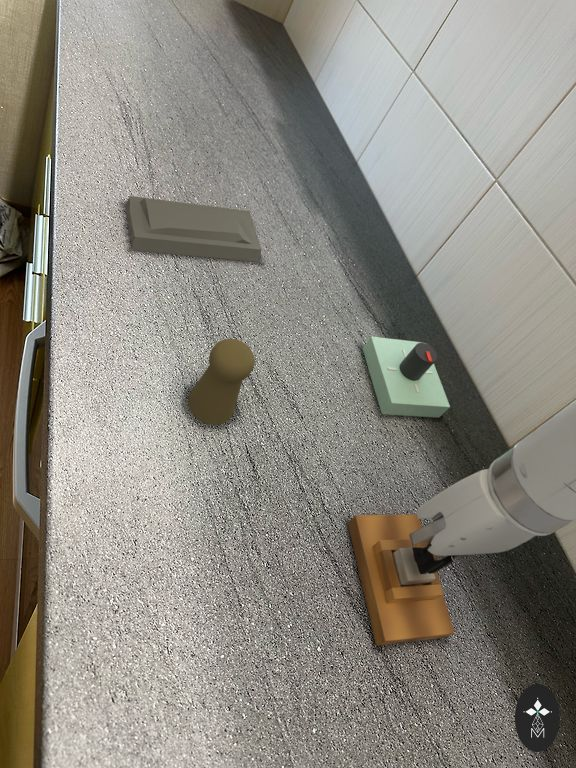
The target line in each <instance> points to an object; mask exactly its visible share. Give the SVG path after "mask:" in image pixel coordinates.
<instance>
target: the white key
mask: <svg viewBox="0 0 576 768" xmlns="http://www.w3.org/2000/svg"><path fill="white" fill-rule="evenodd" d="M392 554H393V558H394V562H395V566H396V569H397V573H398V577H399V581H400V585H413V584H426V583H429V582H431V581H433V580H434V579H436V578H435V574H434V573H433V574H429V573H426V574H420V573H419V570H418V567H417V563H416V562H415V559H414V556H413V549H412V548H399V549H398V550H396V551H395V552H394V553H392Z"/></svg>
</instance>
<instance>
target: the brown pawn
mask: <svg viewBox="0 0 576 768" xmlns="http://www.w3.org/2000/svg"><path fill="white" fill-rule="evenodd" d="M255 361H256V360H255V356H254V353H253V351H252V348H251V347H250V346H249V345H248V344H246V343H245V342H244V341H242V340H240V339H236V338H225V339H224V338H223V339H222V340H220V341H218V342H217V343H216V344H215V345H213V347H212V348H211V350H210V353H209V356H208V367H207V368H206V369H205V371H204V372H203V374H202V375H201V376H200V378H199V379H198V381H197V382H196V384H195V386H194V387H193V388H192V390H191V391H190V392H189V395H188V398H187V406H188V408H189V411H190V412H191V414H192V415H193V416H194V417H195V418H196V419H197V420H199V421H200V422H202V423H203V424H204V423H205V424H208V425H213V426H214V425H215V426H217V425H221V424H225V423H226V422H229V420H230V419H231V418H232V417H233V415H234V412H235V409H236V405H237V402H238V399H239V395H240V391H241V388H242V384H243V381H245V380H246V379H247V378H248V377H249V376H250V375H251V374H252V372H253V371H254V367H255Z"/></svg>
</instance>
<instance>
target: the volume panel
mask: <svg viewBox="0 0 576 768" xmlns="http://www.w3.org/2000/svg"><path fill="white" fill-rule="evenodd" d="M418 343H423V342H421V341H413V340H405V339H397V338H396V339H395V338H387V337H379V336H369V338H368V340H367V341H366V343H365V344H364V346H363V347H362V352H363V355H364V359H365V362H366V366H367V370H368V372H369V375H370V379H371V383H372V385H373V389H374V392H375V396H376V399H377V403H378V405H379V406H378V407H379V409H380V413H381V415H388V416H403V417H404V416H405V417H420V418H421V417H423V418H438V419H439V418H440V417H441V416H442V415H444V414H445V413H446V412H447V411H448V410H449V409H450V408H451V405H450V403H449V400H448V398H447V394H446V392H445V390H444V387H443V384H442V381H441V379H440V376H439V374H438V370H437V369H436V365H435V363H434V364H433V365H432V366H431V367H430V368H429V369H428V370H427V371H426V372H425V374H424V375H423V376H422V377H421V378H420V379H419V380H416V381H413V380H410V379H408V378H406V377H405V376H404V375H403V374H402V373H401V371H400V364H401V362H402V361H403V360H404V359H405V357H406V356H407V355H408V354H409V353H410V352H411V350H412V349H413V348H414V347H415V346H416V344H418Z"/></svg>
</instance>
